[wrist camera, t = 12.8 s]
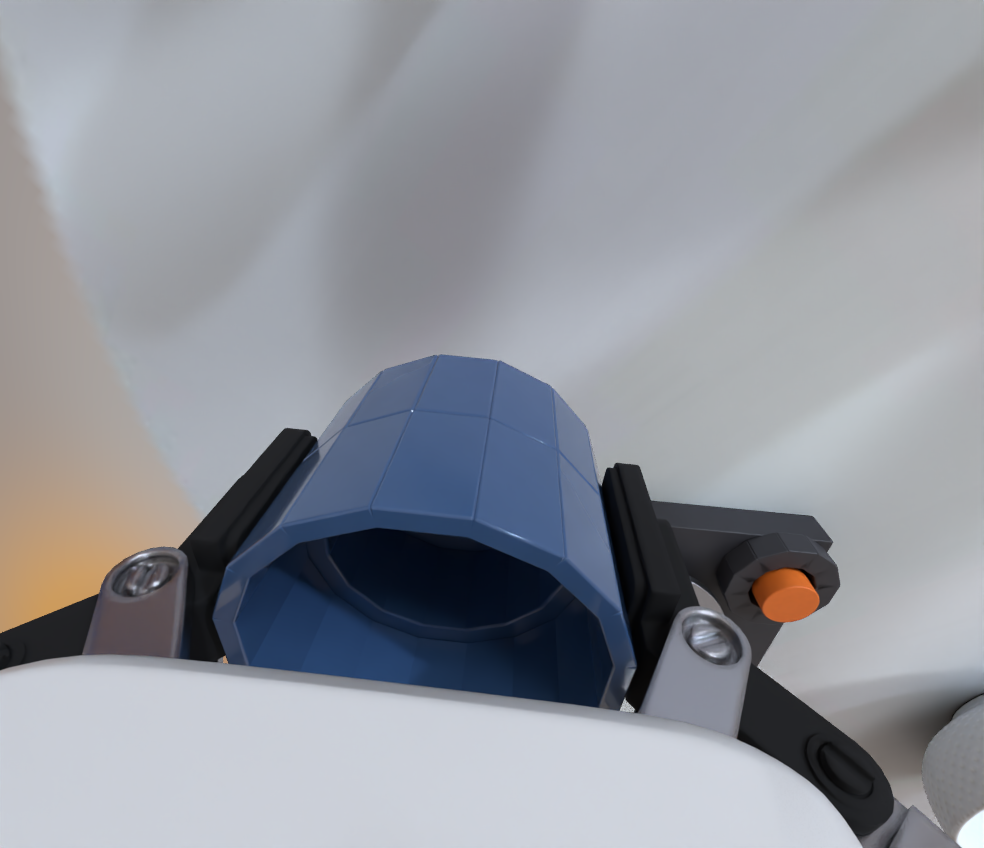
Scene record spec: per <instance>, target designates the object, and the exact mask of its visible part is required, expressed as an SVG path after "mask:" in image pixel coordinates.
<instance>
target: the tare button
mask: <svg viewBox="0 0 984 848" xmlns="http://www.w3.org/2000/svg"><path fill="white" fill-rule="evenodd" d="M752 592H753V595H754V597H755V599H756V601H757V602H758V604H759V606H760V608H761V610H762V612H763V614H764V615H765V616H766V617H767V618H769V619H771V620H773V621H777V622H793V621H797V620H800V619H803V618H805V617H807V616H809V615H810V614H812V613H813V612H814V611H815V610H816V609H817V607H818V605H819V595H818V594H817V592H816V591H815V589H814V588H813V586H812V585H811V583H810V582H809V580H808V579H807V577H806V576H805V574H804V573H803V572H801V571H800V570H798V569H795V568H788V567H785V568H781V569H777V570H773V571H769V572H766V573H765V574H764V575H762V576H761V577H759V578H758V579H756V580H755V581H754V583H753V586H752Z"/></svg>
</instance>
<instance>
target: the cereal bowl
mask: <svg viewBox="0 0 984 848" xmlns="http://www.w3.org/2000/svg"><path fill="white" fill-rule="evenodd" d="M922 781H923V784H924V789H925V793H926V795H927V799H928V801H929V803H930V805H931V807H932V810H933V812H934V814H935V816H936V818H937V820H938V822H939V823H940V826H941V827H942V829H943V830H944V832H945V833H946V834H947V835H948V836H949V837H950V838H951V839H953V840H954V841H955V842H956V843H957V844H958V845H959V846H961V847H962V848H984V694H983V695H981V696H979V697H977V698H975V699H973V700H971V701H969V702H967V703H966V704H964V705H963V706H962V707H961V708H960V709H959V710H958V711H957V712H956V713H955V714H954V716H953V718H952V721H950V723H949V724H948V725H946V726H944V728H943V729H942V730H940V731H938V733H937V735H935V736H934V737H933V739H932V741H930V743H929V745H928V747H927V749H926V753H925V754H924V758H923V762H922Z"/></svg>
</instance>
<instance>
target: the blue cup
mask: <svg viewBox="0 0 984 848" xmlns="http://www.w3.org/2000/svg"><path fill="white" fill-rule="evenodd" d="M212 617H213V618H212V620H213V623H214V626H215V628H216V631H217V634H218V637H219V639H220V642H221V645H222V647H223V650H224V653H225V655H226V658H227V661H228V664H235V665H244V666H253V667H262V668H271V669H280V670H288V671H297V672H306V673H315V674H324V675H333V676H341V677H350V678H359V679H367V680H376V681H384V682H393V683H401V684H410V685H418V686H427V687H435V688H443V689H452V690H460V691H468V692H477V693H485V694H493V695H501V696H509V697H517V698H525V699H533V700H542V701H550V702H558V703H566V704H574V705H581V706H588V707H595V708H602V709H609V710H616V711H619V710H620V708H621V706H622V703H623V701H624V698H625V696H626V693H627V691H628V688H629V686H630V684H631V681H632V679H633V676H634V674H635V671H636V669H637V660H636V655H635V650H634V645H633V640H632V635H631V630H630V625H629V620H628V615H627V610H626V605H625V600H624V595H623V590H622V585H621V580H620V575H619V570H618V565H617V560H616V555H615V550H614V546H613V541H612V536H611V531H610V526H609V521H608V516H607V511H606V506H605V501H604V496H603V491H602V486H601V481H600V476H599V471H598V467H597V463H596V459H595V455H594V452H593V448H592V444H591V440H590V436H589V432H588V430H587V428H586V426H585V425H584V423H583V422H582V421H581V420H580V419H579V418H578V416H577V415H576V414H575V413H574V412H573V411H572V409H571V408H570V407H569V406H568V405H567V404H566V402H565V401H564V400H563V399H562V398H561V397H560V395H559V394H558V393H557V392H556V391H555V390H554V389H553V388H552V387H551V386H550V385H548V384H546V383H544V382H542V381H540V380H538V379H536V378H534V377H532V376H530V375H528V374H526V373H524V372H522V371H520V370H518V369H516V368H514V367H512V366H510V365H508V364H506V363H504V362H502V361H497V360H491V359H481V358H471V357H462V356H452V355H442V354H441V355H438V356H437V355H433V356H430V357H426V358H423V359H419V360H416V361H412V362H409V363H405V364H402V365H398V366H395V367H391V368H387V369H385V370H384V371H381V372H379V373H378V374H377V375H376V376H375V377H373V378H372V379H371V380H370V381H369V382H368V383H366V384H365V385H364V386H363V387H362V388H361V389H359V390H358V391H357V392H356V393H355V394H354V395H353V396H351V397H350V398H349V399H348V400H347V401H346V402H345V403H344V405H343V406H342V407H341V409H340V410H339V412H338V413H337V414H336V416H335V417H334V419H333V420H332V421H331V423H330V424H329V425H328V427H327V428H326V430H325V431H324V432H323V434H322V435H321V437H320V438H319V439H318V441H317V442H316V443H315V445H314V446H313V448H312V449H311V450H310V452H309V453H308V455H307V456H306V457H305V459H304V460H303V462H302V463H301V464H300V465H299V467H298V468H297V469H296V471H295V472H294V473H293V475H292V476H291V478H290V479H289V480H288V482H287V483H286V485H285V486H284V487H283V489H282V490H281V491H280V493H279V494H278V496H277V497H276V498H275V500H274V501H273V503H272V504H271V505H270V507H269V508H268V509H267V511H266V512H265V514H264V515H263V516H262V518H261V519H260V521H259V522H258V523H257V525H256V526H255V527H254V529H253V530H252V532H251V533H250V534H249V536H248V537H247V539H246V540H245V541H244V543H243V544H242V545H241V547H240V548H239V550H238V551H237V552H236V554H235V555H234V557H233V558H232V559H231V561H230V562H229V563H228V565H227V566H226V569H225V572H224V576H223V579H222V582H221V586H220V589H219V593H218V596H217V600H216V603H215V607H214V610H213V614H212Z"/></svg>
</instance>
